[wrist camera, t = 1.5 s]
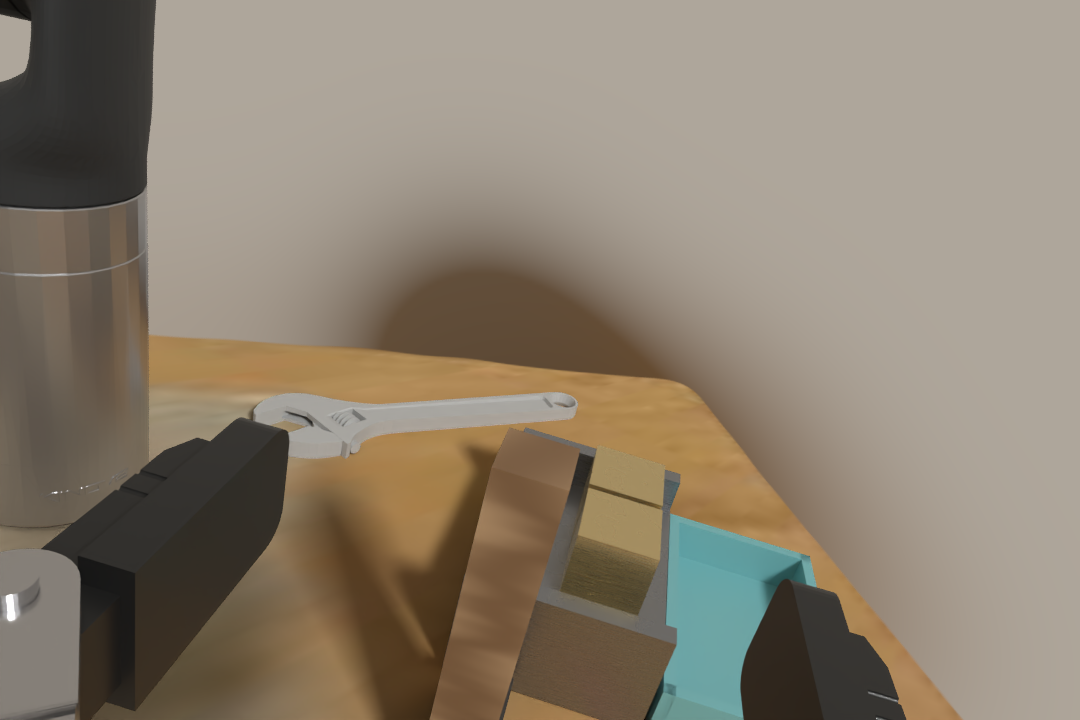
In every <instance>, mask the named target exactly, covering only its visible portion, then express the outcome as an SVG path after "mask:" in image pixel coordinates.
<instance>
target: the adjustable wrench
mask: <svg viewBox="0 0 1080 720" xmlns="http://www.w3.org/2000/svg"><path fill="white" fill-rule="evenodd" d="M558 405H561V406H564V407H561V406H558ZM577 406H578V402H577V400H576V399H575V398H573V397H572V396H570V395H568V394H565V393H561V392H550V393H535V394H521V395H507V396H492V397H478V398H464V399H449V400H435V401H421V402H406V403H392V404H365V403H356V402H349V401H342V400H336V399H331V398H326V397H321V396H316V395H311V394H303V393H287V394H281V395H276V396H273V397H270V398H268V399H266V400H264V401H262V402H261V403H259V404H258V405H257V406H256V408H255V409H254V411H253V421H256V422H259V423H263V424H266V425H272V424H275V423H278V422H281V421H284V420H285V421H289V422H292V423H296V424H299V425H303V426H306V427H304V428H301V429H298V430H295V431H292V432H289V433H288V434H289V440H290V442H289V453H288V456H291V457H298V458H327V457H334V456H340V455H341V456H343V457H344V458H345V459H346V458H347V457H349V455H350V452H351V453H356V452H357V451H359V449H360V447H361V446H360V444H361V443H362V442H364V441H365V440H367V439H370V438H372V437H375V436H379V435H384V434H390V433H402V432H415V431H428V430H440V429H453V428H466V427H478V426H491V425H503V424H516V423H529V422H541V421H554V420H567V419H571V418H573V417H574V416H575V413H576V410H577Z"/></svg>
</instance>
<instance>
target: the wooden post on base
mask: <svg viewBox="0 0 1080 720" xmlns="http://www.w3.org/2000/svg"><path fill="white" fill-rule="evenodd" d="M579 453H580V449H579V448H576V447H572V446H569V445H566V444H562V443H559V442H556V441H552V440H549V439H546V438H543V437H539V436H536V435H533V434H529V433H526V432H523V431H519V430H516V429H513V428H509V429H508V432H507V434H506V436H505V438H504V440H503V443H502V445H501V447H500V449H499V452H498V454H497V456H496V458H495V460H494V463H493V465H492V467H491V471H490V475H489V480H488V484H487V488H486V492H485V496H484V500H483V504H482V508H481V512H480V516H479V520H478V524H477V528H476V532H475V537H474V541H473V545H472V549H471V553H470V557H469V561H468V565H467V569H466V573H465V577H464V581H463V585H462V590H461V594H460V598H459V602H458V606H457V610H456V614H455V618H454V622H453V626H452V630H451V634H450V638H449V643H448V647H447V651H446V655H445V659H444V663H443V667H442V671H441V675H440V679H439V683H438V687H437V691H436V696H435V700H434V704H433V708H432V712H431V716H430V720H503V717H504V714H505V710H506V706H507V702H508V699H509V695H510V691H511V688H512V684H513V680H514V679H513V678H512V676H513V673H514V670H515V666H516V663H517V660H518V657H519V654H520V650H521V647H522V644H523V641H524V637H525V634H526V631H527V628H528V624H529V621H530V618H531V615H532V611H533V608H534V605H535V602H536V598H537V595H538V592H539V589H540V585H541V582H542V579H543V576H544V572H545V569H546V566H547V563H548V559H549V556H550V553H551V550H552V546H553V543H554V540H555V537H556V534H557V530H558V527H559V524H560V521H561V517H562V514H563V511H564V508H565V504H566V501H567V498H568V495H569V491H570V488H571V484H572V480H573V476H574V472H575V468H576V464H577V460H578V457H579Z"/></svg>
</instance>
